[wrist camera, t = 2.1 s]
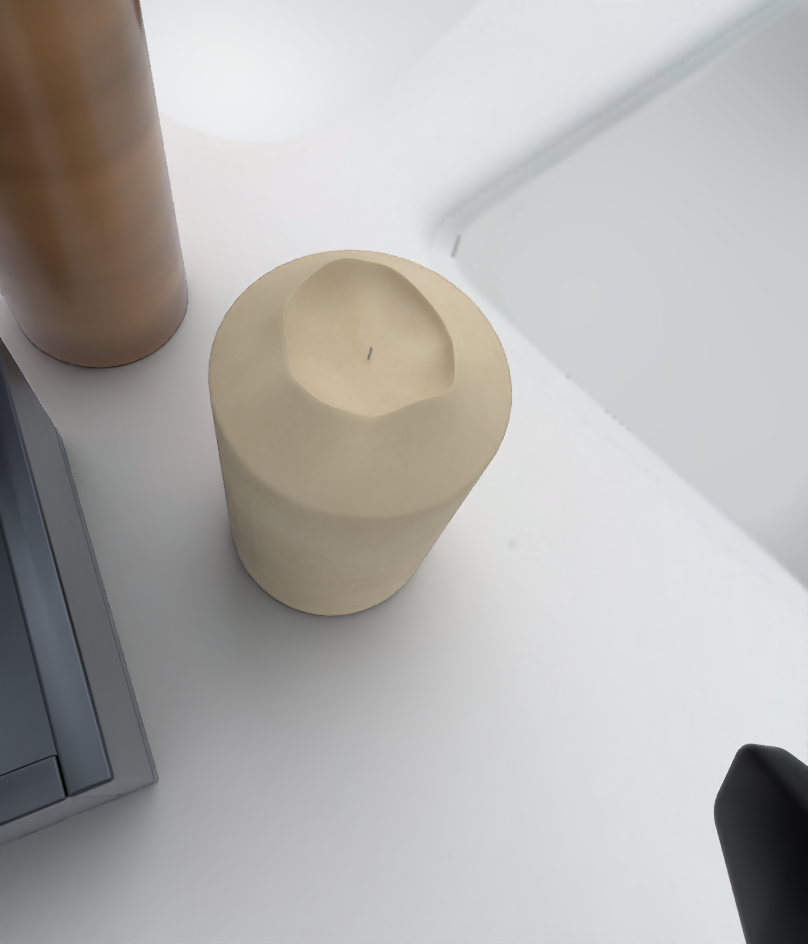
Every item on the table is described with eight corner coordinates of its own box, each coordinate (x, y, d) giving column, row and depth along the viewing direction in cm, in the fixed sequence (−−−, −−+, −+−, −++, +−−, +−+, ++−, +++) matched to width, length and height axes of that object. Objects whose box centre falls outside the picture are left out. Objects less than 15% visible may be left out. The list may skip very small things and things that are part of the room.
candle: (465, 527, 22) (601, 350, 13) (326, 662, 20) (372, 562, 11) (335, 398, 23) (377, 147, 14) (189, 514, 21) (126, 310, 12)
